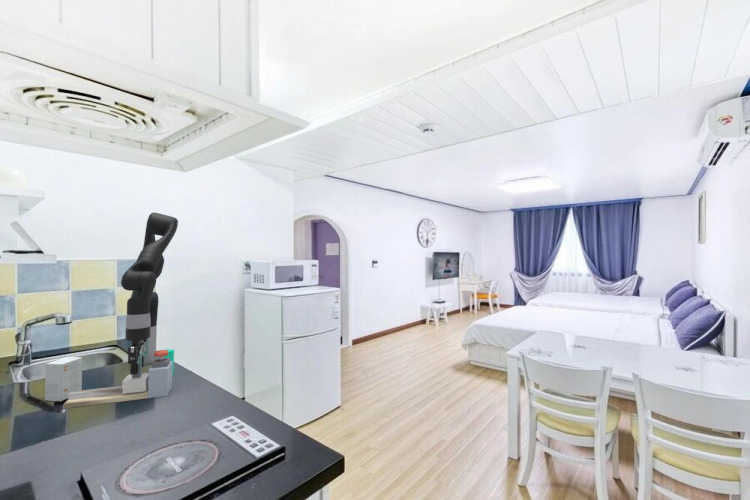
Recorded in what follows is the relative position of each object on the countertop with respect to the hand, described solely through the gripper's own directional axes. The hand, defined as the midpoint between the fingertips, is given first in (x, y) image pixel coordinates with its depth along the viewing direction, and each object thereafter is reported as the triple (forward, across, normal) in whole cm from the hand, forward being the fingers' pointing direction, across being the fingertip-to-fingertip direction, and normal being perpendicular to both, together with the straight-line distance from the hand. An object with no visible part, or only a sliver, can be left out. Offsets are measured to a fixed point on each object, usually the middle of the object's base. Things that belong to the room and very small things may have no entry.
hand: (137, 370), depth 125 cm
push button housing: (+9, 0, -8) cm, 12 cm away
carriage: (+7, 0, 0) cm, 7 cm away
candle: (+9, +20, -6) cm, 22 cm away
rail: (+9, 0, +8) cm, 12 cm away
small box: (+9, +8, +24) cm, 27 cm away
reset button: (-3, 0, -8) cm, 8 cm away
